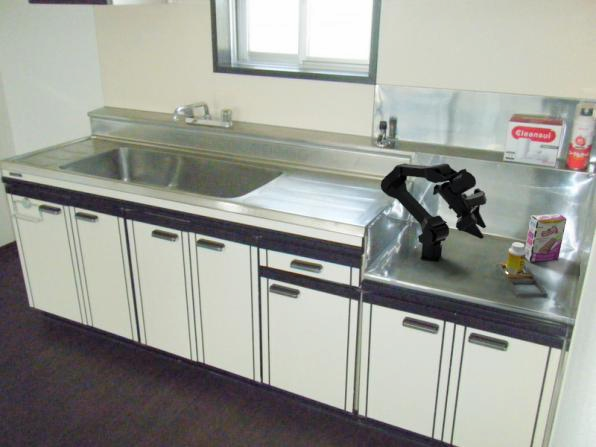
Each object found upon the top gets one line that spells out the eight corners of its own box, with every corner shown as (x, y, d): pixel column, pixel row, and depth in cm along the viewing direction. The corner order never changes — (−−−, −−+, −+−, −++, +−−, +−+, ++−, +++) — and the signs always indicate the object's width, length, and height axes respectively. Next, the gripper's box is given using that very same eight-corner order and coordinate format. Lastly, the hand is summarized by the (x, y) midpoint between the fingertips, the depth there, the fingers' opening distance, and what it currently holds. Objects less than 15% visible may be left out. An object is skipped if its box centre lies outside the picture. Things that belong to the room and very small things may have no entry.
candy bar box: (530, 263, 203) (537, 220, 197) (522, 257, 208) (529, 215, 201) (559, 260, 205) (567, 218, 198) (551, 254, 209) (558, 212, 203)
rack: (547, 297, 181) (547, 294, 181) (516, 297, 182) (516, 293, 181) (523, 265, 202) (524, 262, 201) (496, 265, 202) (496, 262, 201)
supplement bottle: (519, 277, 194) (524, 249, 189) (503, 272, 197) (507, 245, 193) (524, 270, 198) (529, 243, 194) (508, 266, 201) (512, 239, 197)
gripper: (470, 193, 182) (502, 230, 183) (476, 175, 198) (505, 209, 199) (442, 212, 188) (473, 248, 188) (450, 194, 204) (478, 227, 204)
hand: (483, 232), depth 195 cm, fingers open, 9 cm apart
